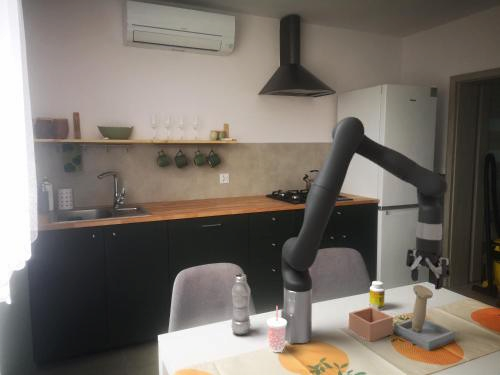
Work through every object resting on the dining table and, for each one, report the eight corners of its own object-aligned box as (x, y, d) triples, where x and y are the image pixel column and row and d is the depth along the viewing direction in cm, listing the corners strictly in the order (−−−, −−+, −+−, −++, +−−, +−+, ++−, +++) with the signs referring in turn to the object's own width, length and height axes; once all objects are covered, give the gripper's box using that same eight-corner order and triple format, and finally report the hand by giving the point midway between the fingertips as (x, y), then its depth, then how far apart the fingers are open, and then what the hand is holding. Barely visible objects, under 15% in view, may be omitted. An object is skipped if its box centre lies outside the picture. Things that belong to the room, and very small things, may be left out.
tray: (428, 351, 114) (428, 341, 114) (394, 333, 125) (394, 324, 125) (454, 340, 120) (455, 332, 120) (419, 324, 132) (419, 316, 131)
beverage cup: (274, 342, 120) (274, 300, 119) (290, 348, 116) (290, 305, 115) (263, 349, 115) (263, 306, 114) (279, 356, 111) (279, 312, 110)
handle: (416, 323, 129) (422, 284, 125) (429, 334, 123) (436, 294, 119) (404, 325, 127) (410, 285, 124) (416, 336, 121) (423, 295, 118)
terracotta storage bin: (369, 342, 120) (370, 324, 119) (348, 329, 128) (349, 312, 128) (392, 334, 125) (393, 317, 124) (370, 322, 133) (371, 306, 132)
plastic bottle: (227, 334, 125) (227, 277, 123) (237, 326, 131) (237, 271, 129) (244, 338, 122) (244, 280, 120) (254, 330, 128) (253, 274, 126)
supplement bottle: (379, 312, 142) (380, 286, 141) (366, 307, 146) (367, 282, 145) (386, 307, 146) (387, 282, 145) (373, 303, 150) (374, 279, 149)
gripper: (402, 232, 124) (400, 279, 125) (441, 242, 111) (438, 294, 113) (417, 230, 127) (415, 276, 129) (457, 239, 115) (454, 290, 116)
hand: (426, 284), depth 121 cm, fingers open, 8 cm apart
